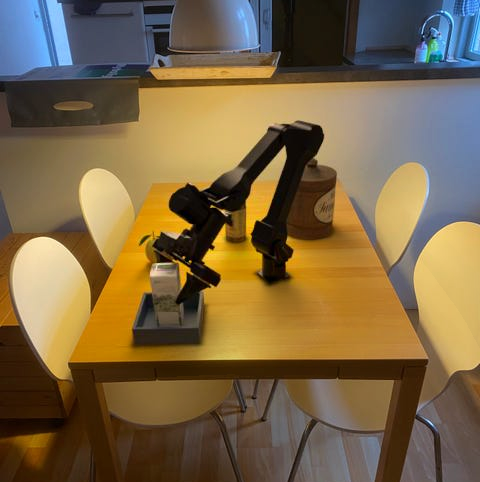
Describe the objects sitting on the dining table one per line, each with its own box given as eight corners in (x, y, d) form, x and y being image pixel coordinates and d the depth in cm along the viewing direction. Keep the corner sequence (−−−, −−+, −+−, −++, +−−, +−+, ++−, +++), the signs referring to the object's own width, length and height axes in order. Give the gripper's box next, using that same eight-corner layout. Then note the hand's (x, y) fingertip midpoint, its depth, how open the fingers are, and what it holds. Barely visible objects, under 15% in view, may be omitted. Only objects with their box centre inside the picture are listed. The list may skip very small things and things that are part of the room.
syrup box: (184, 315, 109) (179, 260, 101) (183, 331, 104) (176, 274, 96) (160, 316, 109) (152, 261, 101) (157, 332, 104) (148, 276, 96)
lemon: (142, 268, 128) (136, 235, 123) (148, 257, 133) (143, 225, 127) (166, 269, 127) (161, 236, 122) (171, 258, 132) (167, 226, 127)
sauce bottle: (222, 235, 143) (219, 172, 133) (241, 232, 145) (239, 169, 135) (230, 245, 138) (228, 179, 127) (250, 240, 140) (249, 176, 129)
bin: (134, 344, 101) (131, 329, 98) (145, 307, 112) (143, 292, 110) (200, 343, 100) (198, 328, 98) (204, 306, 112) (203, 291, 110)
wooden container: (327, 242, 138) (334, 169, 126) (278, 236, 142) (280, 164, 130) (335, 221, 150) (341, 152, 138) (290, 216, 154) (292, 149, 142)
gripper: (154, 203, 102) (116, 264, 102) (206, 231, 89) (162, 301, 89) (187, 226, 110) (152, 283, 110) (238, 254, 98) (199, 318, 98)
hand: (164, 295), depth 102 cm, fingers open, 9 cm apart
